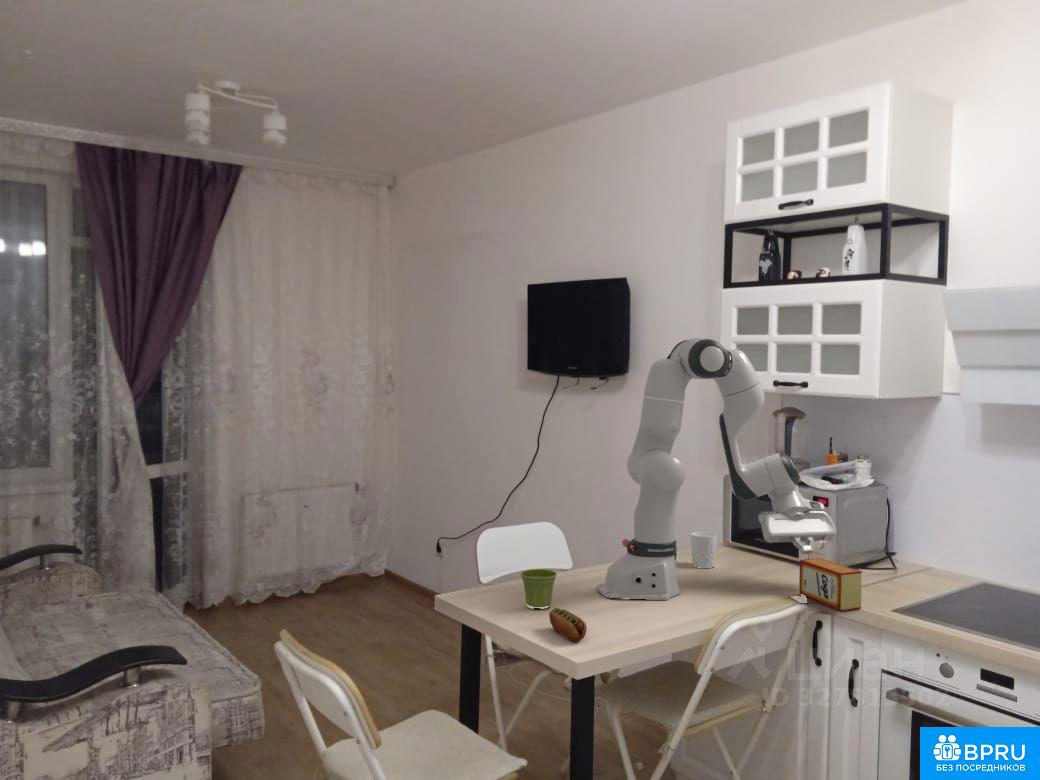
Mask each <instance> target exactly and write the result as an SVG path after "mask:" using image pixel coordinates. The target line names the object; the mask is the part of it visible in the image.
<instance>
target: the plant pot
mask: <svg viewBox="0 0 1040 780" xmlns="http://www.w3.org/2000/svg"><path fill="white" fill-rule="evenodd" d="M557 576H558V573H557V572H556V571H554V570H551V569H545V568H544V569H543V568H542V569H541V568H537V569H534V568H533V569H526V570H523V571H521V572H520V577H521V579H522V582H523V587H524V594H525V602H526V603H525V604H526V605H527V604H528V605H529V606H533V607H545V606H550V605H552V597H553V590H554V585H555V581H556V577H557ZM550 607H551V606H550Z"/></svg>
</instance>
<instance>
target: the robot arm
mask: <svg viewBox="0 0 1040 780" xmlns="http://www.w3.org/2000/svg"><path fill="white" fill-rule="evenodd" d="M692 379H694V380H704V379H706V380H708V379H709V380H710V379H713V380H714V382H715V384H716V385H717V386H718V389H719V390H718V391H719V392H720V395H721V397H722V400H723V411H722V413H720V415H719V417H718V418H719V420H718V424H719V429H720V435H721V440H722V444H723V445H722V446H723V450H724V455H725V459H726V463H727V467H728V473H729V474H728V479H729V486H730V489H731V491H732V493H733V495H734V497H735V498H737V499H739V500H741V501H743V502H751V501H753V500H756V499H757V498H759V497H762V496H764V495H767V496H768V498H769V499H770V500H771V507H772V510H770V511H769V510H768V511H766V510H763V511H761V512H759V513H758V516H757V519H758V522H759V524H760V525H761V531H762V535H763V539H764V540H765V542H767V543H792V545H794V547H796V548H797V549H798V550H799V553H800V554H801V555H812V554H813V553H814V548H813V542H824V541H825V542H826V541H827V542H829V541H830V542H831V541H832V540H833V539H834V538H835V537H836V535H837V532H838V531H837V528H836V526H835V523H834V521H833V520H832V518H831V516H830V514H828V513H827V512H826V511H825V505H824V503H822V502H818V501H814V500H812V499H811V500H810V499H808V498H805V497H803V495H802V493H800V490H799V483H800V479H801V477H800V474H799V472H798V471H797V468H796V464H795V462H794V460H793V458H792V457H791V456H789V455H787V454H786V453H783V452H778V453H777V452H776V453H774V454H771V455H769V456H765V457H763V458H760V459H758V460H755V461H752V462H749V463H746V464H744V463H742V458H741V453H740V449H739V445H738V435H739V433H740V432H741V430H742V429H743V428H744V427H746V425H747V424H749V423H750V422H751V421H752V420H754V419H755V418H756V417H757V416H758V415H759V414H760V412H761V410H762V409H763V407H764V404H765V400H766V396H765V392H764V388H763V386H762V383H761V381H760V378H759V375H758V373H757V372H756V370H755V367H754V366H753V364H752V362H751V361H750V359H749V358H748V356H747V355H746V353H745V352H744V351H742V350H740V349H735V348H734V349H732V348H731V349H727V348H725V346H723V345H722V344H721V343H720V342H718V341H716V340H714V339H710V338H704V339H703V338H697V337H696V338H691V339H685V340H682V341H680V342H678V343H677V344H676V345H675V346H674V347H673V348H672V350H671V352H670V353H669V354H668V355H667V357H666V358H663V359H658V360H656V361H654V362H653V363H652V365H650V369H649V372H648V374H647V378H646V380H645V381H646V382H645V387H644V391H643V397H642V398H643V399H642V405H641V406H642V407H641V412H640V413H641V414H640V420H639V426H638V430H637V434H636V436H635V440H634V443H633V446H632V451H631V453H630V455H629V456H628V457H627V461H626V469H627V470H626V471H627V472H628V474H629V476H630V478H631V479H632V480H633V481H634V482H635V483H636V484H638V485H640V487H639V489H640V491H639V494H638V495H639V496H638V501H637V505H636V507H635V509H634V512H633V513H634V514H633V516H634V517H633V518H634V519H633V520H634V521H633V538H632V539H631V540H628V539H627V538H624V539H623V540H622V541H621V544H622V546H623V547H625V548H626V551H627V552H626V553H625V554H624V555H623V556H621V557H620V558H618V559H617V560H616V561H614V562H613V563H611V564H610V565H609V566H608V569H607V571H606V574H605V575H606V576H605V582H600V583H598V585H597V590H598V589H599V591H600V592H601V593H603V594H604V595H606V596H608V597H612V598H629V599H628V600H630V599H646V600H649V601H652V600H653V601H667V600H670V599H671V598H672V597H675V596H678V595H679V594H680V593H681V589H680V585H679V581H678V575H677V567H676V566H677V565H676V561H677V555H678V554H677V553H678V552H677V550H678V549H677V548H678V547H677V540H676V537H675V536H676V528H675V527H676V509H677V504H678V501H679V500H678V499H679V495H680V489H681V487H682V486H683V484H684V482H685V480H686V470H685V466H684V465H683V463H682V462H681V461H680V459H679V458H678V457H677V456H675V455H674V454H672V449H673V446H674V444H675V441H676V439H677V436H678V435H679V433H680V432H681V428H682V420H683V413H684V403H685V397H686V396H685V395H686V389H687V386H688V384H689V382H690V381H691V380H692ZM802 542H804V543H805V545H804V544H803V543H802ZM599 591H598V592H599ZM646 600H645V601H646Z"/></svg>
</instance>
